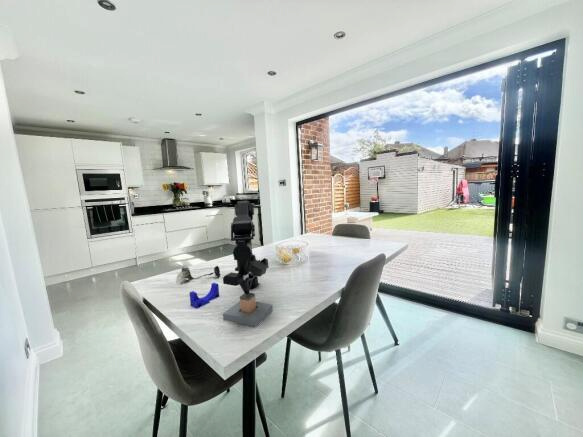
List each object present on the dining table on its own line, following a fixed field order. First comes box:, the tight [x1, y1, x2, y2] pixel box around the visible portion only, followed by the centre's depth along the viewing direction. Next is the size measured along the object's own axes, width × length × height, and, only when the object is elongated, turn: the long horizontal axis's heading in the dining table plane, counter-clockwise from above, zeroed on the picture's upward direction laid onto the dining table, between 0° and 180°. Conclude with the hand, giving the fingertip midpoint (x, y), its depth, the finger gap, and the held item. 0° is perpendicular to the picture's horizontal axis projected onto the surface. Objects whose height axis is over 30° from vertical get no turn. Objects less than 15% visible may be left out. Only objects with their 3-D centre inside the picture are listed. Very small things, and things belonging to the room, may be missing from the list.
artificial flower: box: [175, 265, 221, 285], centre depth 129 cm, size 9×22×10 cm, turn 97°
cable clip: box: [188, 282, 220, 309], centre depth 103 cm, size 12×4×6 cm, turn 143°
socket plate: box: [222, 300, 274, 328], centre depth 90 cm, size 14×12×2 cm
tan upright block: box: [239, 292, 256, 314], centre depth 90 cm, size 4×4×8 cm
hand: (247, 293), depth 89 cm, fingers closed
